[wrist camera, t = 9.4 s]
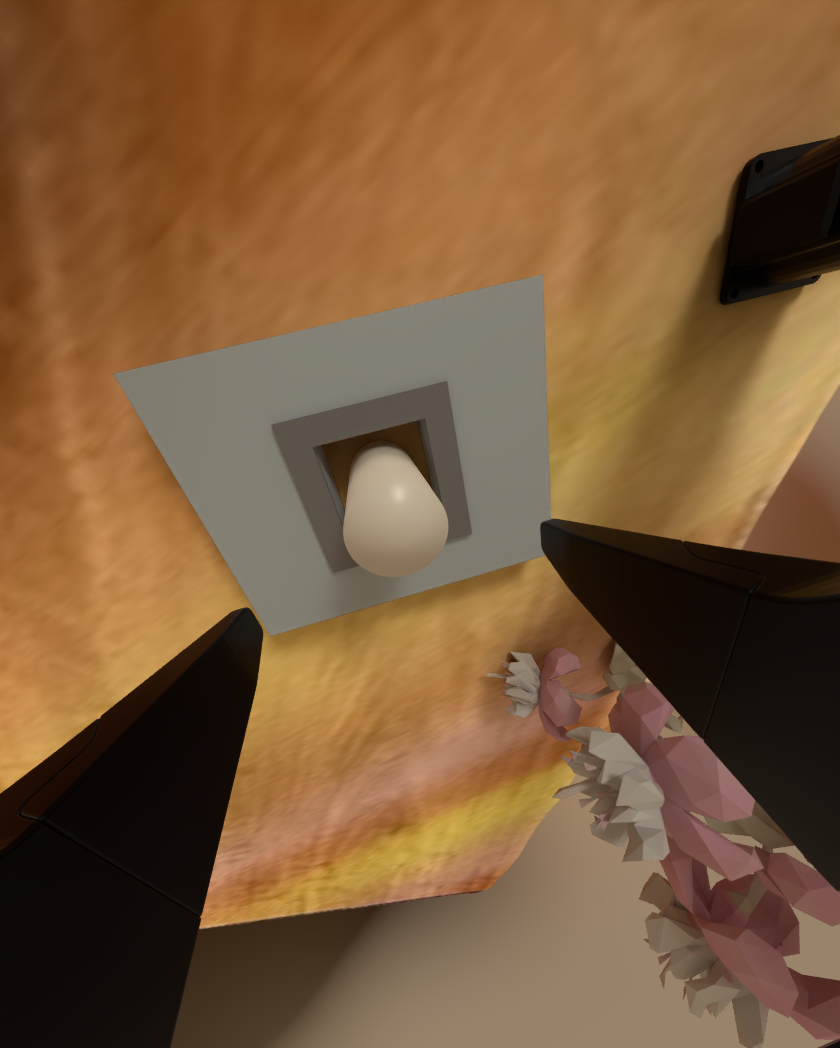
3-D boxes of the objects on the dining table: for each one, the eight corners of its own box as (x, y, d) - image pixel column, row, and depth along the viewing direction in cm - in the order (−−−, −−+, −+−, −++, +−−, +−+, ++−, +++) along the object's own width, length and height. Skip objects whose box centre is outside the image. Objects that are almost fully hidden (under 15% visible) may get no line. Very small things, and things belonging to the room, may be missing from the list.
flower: (637, 462, 21) (1563, 1835, 3) (814, 590, 27) (1500, 1330, 9) (464, 591, 34) (446, 990, 16) (608, 658, 40) (712, 1009, 22)
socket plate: (518, 289, 17) (546, 272, 14) (534, 537, 24) (554, 555, 21) (148, 375, 16) (107, 373, 13) (279, 611, 23) (269, 639, 20)
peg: (404, 433, 19) (437, 468, 11) (418, 492, 21) (456, 561, 13) (341, 449, 19) (327, 498, 11) (361, 508, 20) (361, 588, 12)
